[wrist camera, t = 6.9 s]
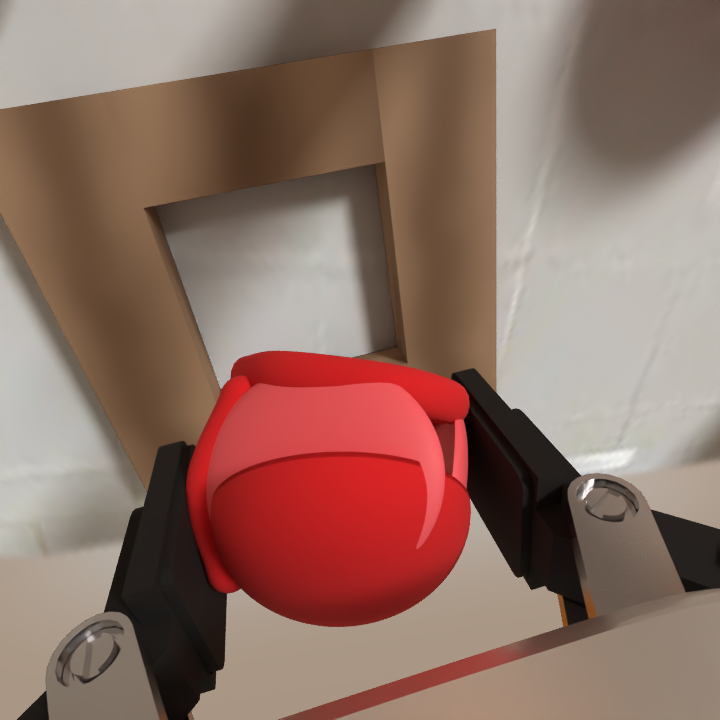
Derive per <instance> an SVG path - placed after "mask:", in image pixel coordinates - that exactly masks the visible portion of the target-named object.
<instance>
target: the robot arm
mask: <svg viewBox="0 0 720 720" xmlns="http://www.w3.org/2000/svg"><path fill="white" fill-rule="evenodd" d="M451 380H453V381H456V382H457V383H459V384H460V385H462V386H463V387H464V388H465V389H466V392H467V394H468V396H469V403H470V405H469V410H468V414H467V415H466V417H465V419H464V423H465V428H466V435H467V444H468V477H467V489H466V490H467V491H468V494H469V497H470V499H471V501H472V502H473V504H474V506H475V508H476V509H477V511H478V512H479V514H480V516H481V518H482V520H483V521H484V523H485V525H486V527H487V528H488V530H489V532H490V533H491V535H492V537H493V539H494V541H495V542H496V544H497V546H498V547H499V549H500V551H501V553H502V554H503V556H504V558H505V560H506V561H507V563H508V565H509V566H510V568H511V570H512V572H513V573H514V575H515V576H516V577H518V578H519V577H522V576H523V577H524V579H525V580H526V582H527V583H528V585H529V587H530V589H531V590H533V589H536V588H539V587H542V586H546V587H547V589H548V590H549V591H552V592H554V593H557V594H558V599H559V605H560V610H561V616H562V622H563V627H562V628H559V629H556V630H553V631H550V632H547V633H543V634H540V635H537V636H534V637H531V638H528V639H525V640H521V641H518V642H515V643H512V644H509V645H506V646H503V647H500V648H496V649H493V650H490V651H487V652H484V653H481V654H478V655H474V656H471V657H468V658H465V659H462V660H459V661H456V662H453V663H450V664H447V665H444V666H441V667H438V668H435V669H431V670H428V671H425V672H422V673H419V674H416V675H413V676H410V677H407V678H404V679H400V680H398V681H394V682H392V683H389V684H385V685H382V686H379V687H376V688H373V689H370V690H367V691H364V692H361V693H358V694H355V695H351V696H349V697H345V698H342V699H339V700H336V701H333V702H330V703H327V704H324V705H321V706H318V707H315V708H312V709H309V710H306V711H303V712H300V713H297V714H294V715H291V716H288V717H285V718H282V719H279V720H720V529H717V528H713V527H710V526H706V525H703V524H700V523H696V522H692V521H689V520H686V519H682V518H679V517H675V516H672V515H668V514H664V513H661V512H658V511H654V510H651V509H650V508H649V505H648V503H647V501H646V499H645V497H644V496H643V494H642V493H641V492H640V491H639V490H638V489H637V488H636V487H635V486H634V485H632V484H631V483H629V482H627V481H625V480H623V479H621V478H618V477H615V476H612V475H608V474H600V473H595V474H586V475H583V476H581V475H580V474H579V473H578V472H577V471H576V470H575V468H574V467H573V466H572V465H571V464H570V463H569V462H568V461H567V460H566V459H565V458H564V456H563V455H562V454H561V453H560V452H559V451H558V450H557V449H556V448H555V447H554V445H553V444H552V443H551V442H550V441H549V440H548V439H547V438H546V437H545V436H544V435H543V433H542V432H541V431H540V430H539V429H538V428H537V427H536V426H535V425H534V424H533V422H532V421H531V420H530V419H529V418H528V417H527V416H526V415H525V414H524V413H523V412H522V411H521V410H520V409H512V410H511V409H510V408H509V407H508V405H507V404H506V403H505V402H504V401H503V400H502V399H501V397H500V396H499V395H498V394H497V393H496V392H495V391H494V390H493V388H492V387H491V386H490V385H489V384H488V383H487V382H486V380H485V379H484V378H483V377H482V376H481V375H480V374H479V373H478V371H477V370H476V369H474V368H471V369H467V370H463V371H459V372H455V373H453V374H452V376H451ZM195 448H196V447H195V445H194V444H191V445H187V444H186V442H185V441H179V442H175V443H171V444H167V445H163V446H160V447H159V448H158V451H157V455H156V459H155V463H154V467H153V471H152V475H151V479H150V483H149V487H148V491H147V495H146V499H145V503H144V507H141V508H137V509H135V510H134V511H133V512H132V514H131V517H130V520H129V524H128V527H127V531H126V534H125V538H124V542H123V545H122V549H121V553H120V556H119V560H118V564H117V567H116V571H115V574H114V578H113V582H112V585H111V589H110V592H109V596H108V600H107V603H106V607H105V610H104V613H102V614H98V615H95V616H93V617H91V618H89V619H87V620H85V621H84V622H83V623H81V624H80V625H78V626H77V627H76V628H74V629H73V630H72V631H71V632H70V633H69V634H68V635H67V636H66V637H65V638H64V639H63V640H62V641H61V642H60V644H59V645H58V647H57V648H56V650H55V651H54V653H53V654H52V657H51V659H50V662H49V664H48V666H47V672H46V691H45V692H44V693H43V694H42V695H41V696H40V697H39V698H38V699H37V700H36V701H35V702H34V703H33V704H32V705H31V706H30V707H29V708H28V709H27V710H26V711H25V712H24V713H23V714H22V715H21V716H20V717H19V718H18V719H17V720H194V718H193V715H192V712H191V710H192V709H193V708H194V707H195V705H196V704H197V703H198V701H199V699H200V694H201V693H204V692H207V691H211V690H214V689H215V684H216V671H218V670H221V669H223V667H224V661H225V632H226V604H227V602H226V601H227V593H221V592H218V591H216V590H215V589H214V588H213V587H212V586H211V585H210V583H209V580H208V577H207V574H206V571H205V568H204V564H203V562H202V559H201V556H200V553H199V550H198V548H197V545H196V541H195V537H194V533H193V529H192V525H191V520H190V515H189V510H188V505H187V499H186V480H187V474H188V469H189V465H190V462H191V459H192V455H193V453H194V450H195Z"/></svg>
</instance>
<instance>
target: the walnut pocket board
mask: <svg viewBox="0 0 720 720" xmlns="http://www.w3.org/2000/svg"><path fill="white" fill-rule="evenodd" d="M370 164H375V170H376V178H377V186H378V194H379V202H380V211H381V219H382V227H383V235H384V243H385V251H386V259H387V267H388V276H389V284H390V292H391V300H392V308H393V316H394V324H395V332H396V341H397V347H395V348H390V349H386V350H382V351H378V352H374V353H369V354H365V355H361V356H357V357H353V358H357V359H365V360H372V361H379V362H385V363H391V364H396V365H402V366H406V367H411V368H415V369H419V370H423V371H427V372H431V373H434V374H437V375H440V376H443V377H446V378H449V379H451V376H452V374H453V373H455V372H459V371H463V370H467V369H471V368H474V369H476V370H477V371H478V373H479V374H480V375H481V376H482V377H483V378H484V379H485V380H486V382H487V383H488V384H489V385H490V386H491V387H492V388H493V390H494V391H495V392H496V29H492V30H486V31H479V32H473V33H467V34H461V35H455V36H449V37H443V38H436V39H430V40H424V41H418V42H412V43H406V44H400V45H393V46H387V47H381V48H375V49H369V50H363V51H357V52H350V53H344V54H338V55H332V56H326V57H320V58H314V59H307V60H301V61H295V62H289V63H283V64H277V65H271V66H264V67H258V68H252V69H246V70H240V71H234V72H228V73H221V74H215V75H209V76H203V77H197V78H191V79H185V80H178V81H172V82H166V83H160V84H154V85H148V86H142V87H135V88H129V89H123V90H117V91H111V92H105V93H99V94H92V95H86V96H80V97H74V98H68V99H62V100H56V101H49V102H43V103H37V104H31V105H25V106H19V107H13V108H6V109H0V213H1V215H2V217H3V219H4V221H5V223H6V225H7V227H8V228H9V230H10V232H11V234H12V236H13V238H14V240H15V242H16V244H17V246H18V247H19V249H20V251H21V253H22V255H23V257H24V259H25V261H26V263H27V265H28V266H29V268H30V270H31V272H32V274H33V276H34V278H35V280H36V282H37V284H38V285H39V287H40V289H41V291H42V293H43V295H44V297H45V299H46V301H47V303H48V305H49V306H50V308H51V310H52V312H53V314H54V316H55V318H56V320H57V322H58V324H59V325H60V327H61V329H62V331H63V333H64V335H65V337H66V339H67V341H68V343H69V344H70V346H71V348H72V350H73V352H74V354H75V356H76V358H77V360H78V362H79V363H80V365H81V367H82V369H83V371H84V373H85V375H86V377H87V379H88V381H89V382H90V384H91V386H92V388H93V390H94V392H95V394H96V396H97V398H98V400H99V401H100V403H101V405H102V407H103V409H104V411H105V413H106V415H107V417H108V419H109V420H110V422H111V424H112V426H113V428H114V430H115V432H116V434H117V436H118V438H119V440H120V441H121V443H122V445H123V447H124V449H125V451H126V453H127V455H128V457H129V459H130V460H131V462H132V464H133V466H134V468H135V470H136V472H137V474H138V476H139V478H140V479H141V481H142V483H143V485H144V487H145V489H146V491H148V487H149V483H150V479H151V475H152V471H153V467H154V463H155V459H156V455H157V451H158V448H159V447H160V446H163V445H167V444H171V443H175V442H179V441H185V442H186V444H187V445H191V444H194V445H195V447H196V445H197V443H198V440H199V438H200V436H201V434H202V432H203V429H204V427H205V425H206V423H207V421H208V419H209V417H210V415H211V413H212V411H213V409H214V406H215V404H216V402H217V400H218V398H219V395H220V393H221V391H222V389H220V387H219V384H218V381H217V379H216V376H215V373H214V370H213V367H212V365H211V362H210V359H209V356H208V354H207V351H206V348H205V345H204V342H203V340H202V337H201V334H200V331H199V329H198V326H197V323H196V320H195V317H194V315H193V312H192V309H191V306H190V304H189V301H188V298H187V295H186V292H185V290H184V287H183V284H182V281H181V279H180V276H179V273H178V270H177V267H176V265H175V262H174V259H173V256H172V254H171V251H170V248H169V245H168V242H167V240H166V237H165V234H164V231H163V229H162V226H161V223H160V220H159V218H158V215H157V212H156V209H155V206H156V205H162V204H167V203H172V202H177V201H183V200H188V199H193V198H198V197H203V196H209V195H214V194H219V193H224V192H229V191H235V190H240V189H245V188H250V187H256V186H261V185H266V184H271V183H276V182H282V181H287V180H292V179H297V178H303V177H308V176H313V175H318V174H323V173H329V172H334V171H339V170H344V169H350V168H355V167H360V166H365V165H370Z"/></svg>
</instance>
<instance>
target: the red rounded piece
mask: <svg viewBox="0 0 720 720" xmlns="http://www.w3.org/2000/svg"><path fill="white" fill-rule="evenodd" d="M469 405H470V403H469V396H468V394H467V392H466V389H465V388H464V387H463V386H462V385H460V384H459V383H457V382H456V381H453V380H451V379H449V378H446V377H443V376H440V375H437V374H434V373H431V372H427V371H423V370H419V369H415V368H411V367H406V366H402V365H396V364H391V363H385V362H379V361H372V360H365V359H357V358H349V357H341V356H333V355H324V354H315V353H305V352H292V351H266V352H260V353H256V354H252V355H249V356H244V357H242V358H239V359H238V360H237V361H236V362H235V363H234V366H233V368H232V370H231V379H230V380H229V381H227V383H226V384H225V385H224V387H223V388H222V391H221V393H220V395H219V398H218V400H217V402H216V404H215V406H214V409H213V411H212V413H211V415H210V417H209V419H208V421H207V423H206V425H205V427H204V429H203V432H202V434H201V436H200V438H199V440H198V443H197V445H196V448H195V450H194V453H193V455H192V459H191V462H190V465H189V469H188V474H187V480H186V499H187V505H188V510H189V515H190V520H191V525H192V529H193V533H194V537H195V541H196V545H197V548H198V550H199V553H200V556H201V559H202V562H203V564H204V568H205V571H206V574H207V577H208V580H209V583H210V585H211V586H212V587H213V588H214V589H215V590H216V591H218V592H221V593H233V592H235V591H238V590H239V589H242V590H243V591H244V592H245V593H246V594H248V595H249V596H250V597H251V598H252V599H254V600H255V601H256V602H258V603H259V604H261V605H262V606H264V607H266V608H267V609H269V610H271V611H273V612H275V613H277V614H279V615H281V616H284V617H286V618H289V619H292V620H296V621H299V622H303V623H307V624H313V625H318V626H328V627H346V626H357V625H364V624H369V623H373V622H377V621H380V620H384V619H387V618H390V617H392V616H395V615H397V614H399V613H401V612H403V611H405V610H407V609H409V608H411V607H412V606H414V605H416V604H417V603H419V602H420V601H422V600H423V599H424V598H426V597H427V596H428V595H429V594H431V593H432V592H433V591H434V590H435V589H436V588H437V587H438V586H439V585H440V584H441V583H442V582H443V581H444V580H445V578H446V577H447V576H448V575H449V573H450V572H451V570H452V569H453V567H454V566H455V564H456V563H457V561H458V559H459V557H460V555H461V553H462V550H463V548H464V545H465V542H466V539H467V535H468V531H469V526H470V514H471V507H470V497H469V494H468V491H467V490H466V489H467V477H468V444H467V435H466V428H465V423H464V419H465V417H466V415H467V414H468V410H469Z"/></svg>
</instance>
